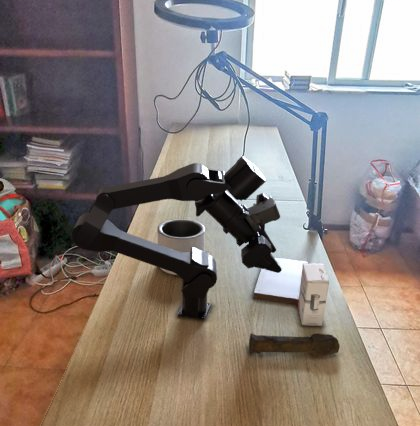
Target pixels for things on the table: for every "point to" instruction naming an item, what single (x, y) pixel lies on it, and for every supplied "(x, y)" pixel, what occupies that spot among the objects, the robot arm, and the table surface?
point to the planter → (181, 236)
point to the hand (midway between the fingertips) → (277, 261)
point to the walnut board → (280, 282)
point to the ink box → (313, 294)
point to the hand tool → (295, 344)
